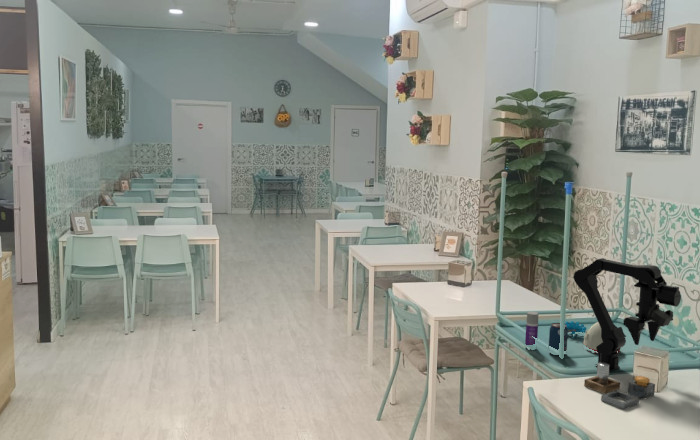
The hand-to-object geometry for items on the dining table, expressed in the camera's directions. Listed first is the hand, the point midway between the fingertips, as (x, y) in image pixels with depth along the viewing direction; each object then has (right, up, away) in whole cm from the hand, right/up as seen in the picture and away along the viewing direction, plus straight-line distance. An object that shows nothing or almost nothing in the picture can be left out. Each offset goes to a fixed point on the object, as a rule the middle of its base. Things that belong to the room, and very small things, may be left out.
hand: (644, 342), depth 242 cm
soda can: (-24, -9, +26) cm, 36 cm away
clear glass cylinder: (-18, -13, -8) cm, 24 cm away
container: (-33, -8, +31) cm, 46 cm away
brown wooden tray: (-18, -14, -8) cm, 25 cm away
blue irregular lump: (-10, -6, +49) cm, 50 cm away
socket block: (-13, -16, -18) cm, 27 cm away
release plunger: (-7, -13, -14) cm, 21 cm away
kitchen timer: (-4, -9, +32) cm, 33 cm away
